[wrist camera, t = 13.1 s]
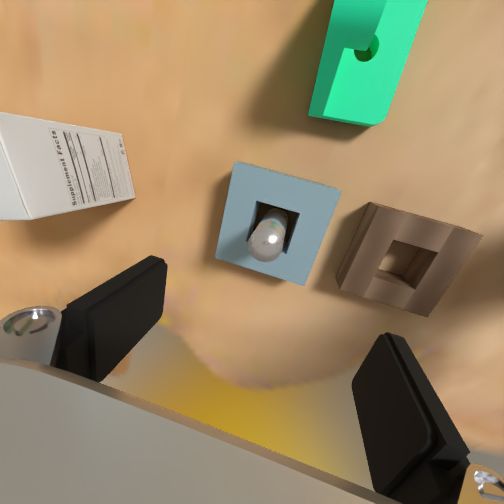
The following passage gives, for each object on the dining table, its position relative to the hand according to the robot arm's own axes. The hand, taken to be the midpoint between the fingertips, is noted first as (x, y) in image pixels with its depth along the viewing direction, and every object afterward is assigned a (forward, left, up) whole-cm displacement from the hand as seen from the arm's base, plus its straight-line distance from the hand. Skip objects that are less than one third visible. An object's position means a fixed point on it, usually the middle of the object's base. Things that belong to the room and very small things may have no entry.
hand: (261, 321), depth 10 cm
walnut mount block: (-15, +1, -23) cm, 27 cm away
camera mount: (-2, -18, -23) cm, 29 cm away
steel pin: (+1, +1, -23) cm, 23 cm away
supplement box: (+27, +1, -23) cm, 36 cm away
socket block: (+1, +1, -23) cm, 23 cm away
